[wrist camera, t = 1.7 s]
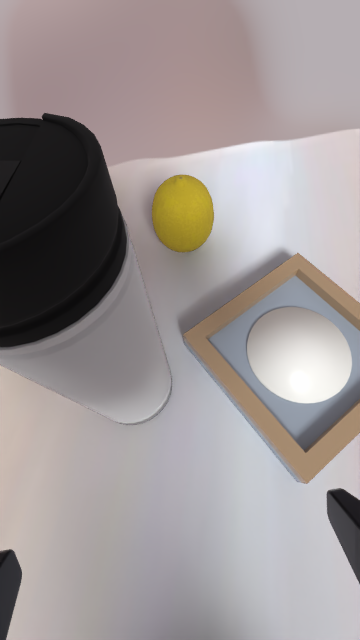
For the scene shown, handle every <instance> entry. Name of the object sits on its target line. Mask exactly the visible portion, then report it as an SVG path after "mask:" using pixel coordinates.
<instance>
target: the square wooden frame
mask: <svg viewBox="0 0 360 640" xmlns="http://www.w3.org/2000/svg"><path fill="white" fill-rule="evenodd" d="M183 338H184V344H185V345H186V347H187V348H188V349H189V350H190V351H191V353H192V354H193V355H194V356H195V358H196V359H197V360H198V361H199V362H200V364H201V365H202V366H203V367H204V369H205V370H206V371H207V372H208V373H209V375H210V376H211V377H212V378H213V380H214V381H215V382H216V383H217V384H218V386H219V387H220V388H221V389H222V391H223V392H224V393H225V394H226V395H227V397H228V398H229V399H230V400H231V402H232V403H233V404H234V405H235V406H236V408H237V409H238V410H239V411H240V413H241V414H242V415H243V416H244V417H245V419H246V420H247V421H248V422H249V424H250V425H251V426H252V427H253V428H254V430H255V431H256V432H257V433H258V435H259V436H260V437H261V438H262V439H263V441H264V442H265V443H266V444H267V446H268V447H269V448H270V449H271V450H272V452H273V453H274V454H275V455H276V457H277V458H278V459H279V460H280V461H281V463H282V464H283V465H284V466H285V468H286V469H287V470H288V471H289V472H290V474H291V475H292V476H293V477H294V479H295V480H296V481H297V482H300V483H305V484H307V483H308V482H309V481H310V480H311V479H313V478H314V477H315V476H316V475H317V474H318V473H319V472H320V471H321V470H322V469H323V468H324V467H325V466H326V465H327V464H328V463H329V462H330V461H331V460H332V459H333V458H334V457H335V456H336V455H337V454H338V453H339V452H340V451H341V450H342V449H343V448H344V447H345V446H346V445H347V444H348V443H349V442H351V441H352V440H353V439H354V438H355V437H356V436H357V435H358V434H359V433H360V303H359V302H357V301H356V300H355V299H354V298H353V297H351V296H350V295H349V294H348V293H346V292H345V291H344V290H343V289H342V288H340V287H339V286H338V285H337V284H336V283H334V282H333V281H332V280H331V279H329V278H328V277H327V276H326V275H325V274H323V273H322V272H321V271H320V270H318V269H317V268H316V267H315V266H314V265H312V264H311V263H310V262H309V261H307V260H306V259H305V258H304V257H303V256H301V255H300V254H299V253H297V254H296V255H294V256H293V257H291V258H290V259H288V260H287V261H286V262H284V263H283V264H281V265H280V266H279V267H277V268H276V269H274V270H273V271H272V272H270V273H269V274H267V275H266V276H265V277H263V278H262V279H260V280H259V281H258V282H256V283H255V284H253V285H252V286H251V287H249V288H248V289H246V290H245V291H243V292H242V293H241V294H239V295H238V296H236V297H235V298H234V299H232V300H231V301H229V302H228V303H227V304H225V305H224V306H222V307H221V308H220V309H218V310H217V311H215V312H214V313H213V314H211V315H210V316H208V317H207V318H206V319H204V320H203V321H201V322H200V323H198V324H197V325H196V326H194V327H193V328H191V329H190V330H189V331H187V332H186V333H184V334H183Z"/></svg>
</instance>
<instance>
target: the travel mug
mask: <svg viewBox="0 0 360 640" xmlns="http://www.w3.org/2000/svg"><path fill="white" fill-rule="evenodd" d="M42 119H43V120H42ZM42 119H34V118H10V119H0V365H1V366H3V367H5V368H7V369H9V370H11V371H14V372H16V373H18V374H20V375H22V376H24V377H26V378H28V379H30V380H32V381H34V382H36V383H38V384H40V385H42V386H44V387H46V388H48V389H50V390H52V391H54V392H56V393H58V394H60V395H62V396H64V397H66V398H68V399H70V400H72V401H74V402H77V403H79V404H81V405H83V406H85V407H87V408H89V409H91V410H93V411H95V412H97V413H99V414H101V415H103V416H105V417H107V418H109V419H111V420H113V421H115V422H118V423H120V424H126V425H136V424H140V423H144V422H146V421H148V420H151V419H152V418H153V417H155V416H156V415H158V414H159V413H160V411H161V410H162V409H163V408H164V407H165V405H166V404H167V402H168V400H169V397H170V395H171V390H172V377H171V372H170V369H169V365H168V362H167V358H166V355H165V352H164V348H163V345H162V342H161V338H160V335H159V332H158V328H157V325H156V322H155V318H154V315H153V312H152V308H151V305H150V301H149V298H148V295H147V291H146V288H145V285H144V281H143V278H142V275H141V271H140V268H139V265H138V261H137V258H136V255H135V251H134V248H133V244H132V242H131V240H130V236H129V231H128V228H127V224H126V222H125V220H124V218H123V216H122V214H121V211H120V209H119V207H118V205H117V199H116V195H115V191H114V188H113V185H112V182H111V178H110V175H109V172H108V169H107V165H106V162H105V159H104V155H103V152H102V149H101V146H100V144H99V143H98V141H97V139H96V137H95V135H94V134H93V133H92V132H91V131H90V130H89V129H88V128H86V127H85V126H84V125H83V124H81V123H79V122H77V121H75V120H73V119H71V118H69V117H64V116H58V115H53V114H47V113H44V114H43V116H42Z"/></svg>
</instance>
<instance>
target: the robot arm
mask: <svg viewBox="0 0 360 640" xmlns="http://www.w3.org/2000/svg"><path fill="white" fill-rule="evenodd" d="M327 514H328V518H329V521H330V523H331V525H332V527H333V529H334V531H335V534H336V536H337V538H338V540H339V542H340V544H341V546H342V548H343V550H344V552H345V554H346V557H347V559H348V561H349V563H350V565H351V567H352V569H353V571H354V573H355V575H356V577H357V579H358V581H359V583H360V500H358V499H357V498H356V497H354V496H353V495H351V494H350V493H348V492H347V491H345V490H344V489H341V488H338V489H333V490H329V491H327ZM21 579H22V570H21V567H20V565H19V562H18V560H17V557H16V555H15V552H14V551H13V550H11V549H9V550H4V551H0V640H6V637H7V634H8V630H9V626H10V622H11V618H12V614H13V610H14V607H15V603H16V599H17V595H18V591H19V587H20V583H21Z"/></svg>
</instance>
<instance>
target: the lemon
mask: <svg viewBox="0 0 360 640" xmlns="http://www.w3.org/2000/svg"><path fill="white" fill-rule="evenodd" d="M152 220H153V226H154V229H155V232H156V234H157V236H158V238H159V239H160V241H161V242H162V243H163V244H164V245H165V246H166V247H168V248H170V249H171V250H174V251H177V252H190V251H193V250H195V249H197V248H199V247H200V246H201V245H202V244H203V243H204V242H205V241H206V240H207V238H208V236H209V235H210V233H211V230H212V225H213V221H214V212H213V203H212V199H211V196H210V194H209V192H208V190H207V188H206V187H205V185H204V184H203V183H202V182H201V181H199V180H198V179H196V178H194V177H192V176H189V175H176V176H173V177H170V178H169V179H167V180H166V181H164V182H163V183H162V184H161V185H160V186H159V188H158V190H157V192H156V193H155V196H154V200H153V205H152Z"/></svg>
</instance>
